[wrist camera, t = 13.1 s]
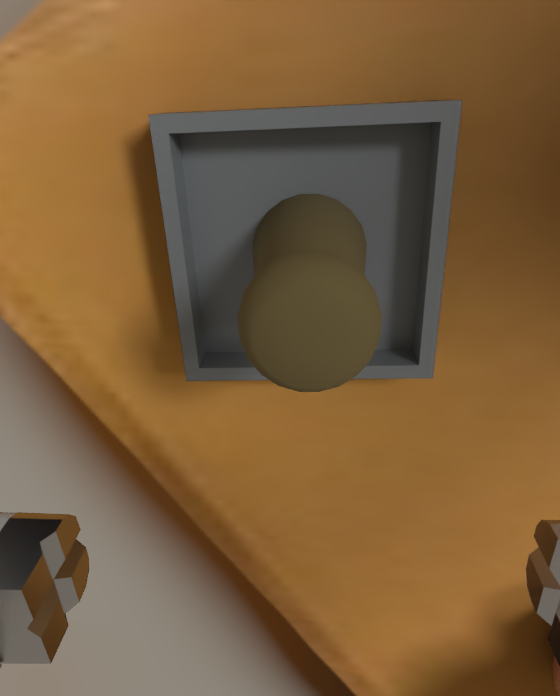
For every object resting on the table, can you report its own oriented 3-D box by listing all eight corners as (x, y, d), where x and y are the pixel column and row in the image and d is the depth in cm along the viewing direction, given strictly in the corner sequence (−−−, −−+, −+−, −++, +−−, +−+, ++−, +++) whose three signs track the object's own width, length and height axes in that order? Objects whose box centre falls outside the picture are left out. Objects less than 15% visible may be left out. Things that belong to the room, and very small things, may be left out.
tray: (162, 113, 25) (148, 114, 22) (447, 99, 24) (461, 100, 22) (195, 360, 31) (186, 380, 28) (423, 356, 30) (432, 378, 28)
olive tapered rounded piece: (378, 202, 25) (421, 270, 16) (354, 312, 28) (378, 429, 18) (259, 184, 25) (227, 241, 15) (246, 296, 28) (212, 406, 18)
